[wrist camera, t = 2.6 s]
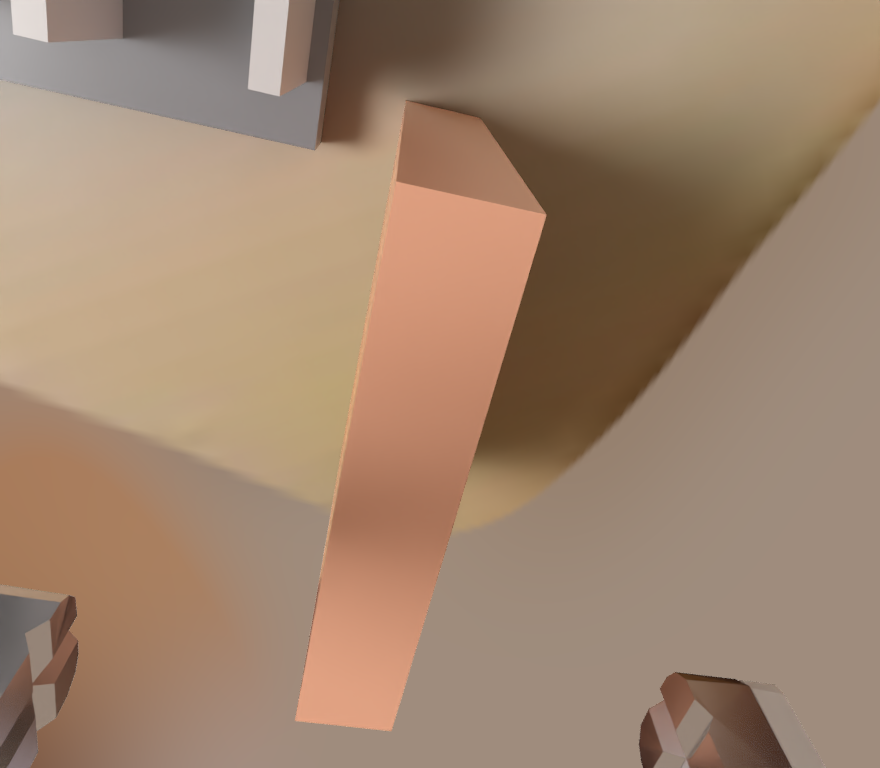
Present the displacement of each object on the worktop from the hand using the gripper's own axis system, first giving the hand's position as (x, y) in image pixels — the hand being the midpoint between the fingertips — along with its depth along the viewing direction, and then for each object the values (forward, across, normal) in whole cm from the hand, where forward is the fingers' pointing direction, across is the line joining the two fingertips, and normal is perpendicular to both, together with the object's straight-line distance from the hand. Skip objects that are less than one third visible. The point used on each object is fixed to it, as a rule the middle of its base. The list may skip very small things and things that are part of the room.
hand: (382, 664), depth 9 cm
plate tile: (+12, 0, -1) cm, 12 cm away
